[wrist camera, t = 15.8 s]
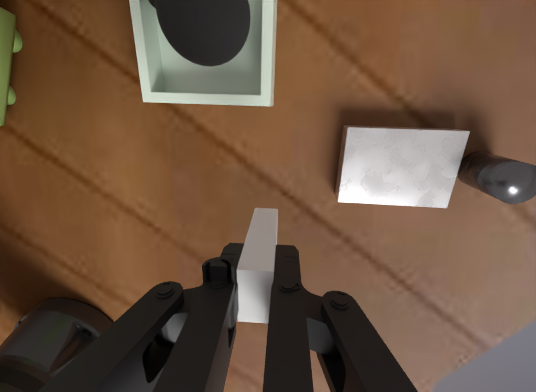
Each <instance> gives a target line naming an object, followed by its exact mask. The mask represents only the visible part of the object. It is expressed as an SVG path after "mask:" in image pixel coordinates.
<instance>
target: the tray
mask: <svg viewBox="0 0 536 392" xmlns="http://www.w3.org/2000/svg"><path fill="white" fill-rule="evenodd" d="M248 1H249V5H250V16H251V20H250V29H249V34H248V37H247V40H246V42H245V44H244V46H243V48H242V49H241V51H240V52H239V53H238V54H237V55H236V56H235V57H234V58H233V59H232V60H230V61H229V62H227V63H224V64H222V65H218V66H212V67H210V66H201V65H198V64H195V63H192V62H190V61H189V60H187V59H185V58H183V57H182V56H181V55H180V54H178V53H177V52H176V51H175V50H174V49H173V47H172V46H171V45H170V44H169V42H168V41H167V39H166V37H165V36H164V34H163V32H162V30H161V27H160V25H159V22H158V18H157V14H156V9H155V8H154V7H153V6H152V5H151V4H150V3H149V1H148V0H129V3H130V10H131V17H132V25H133V32H134V39H135V47H136V54H137V61H138V68H139V76H140V83H141V90H142V98H143V102H158V103H188V104H218V105H247V106H273V105H274V77H275V49H276V21H277V0H248Z"/></svg>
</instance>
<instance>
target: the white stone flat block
mask: <svg viewBox="0 0 536 392" xmlns="http://www.w3.org/2000/svg"><path fill="white" fill-rule="evenodd" d="M469 133H470V131H465V130H459V129H445V128H414V127H383V126H352V125H343V133H342V141H341V149H340V157H339V165H338V173H337V181H336V189H335V196H336V198H337V201H338V202H350V203H367V204H384V205H402V206H419V207H437V208H447V206H448V203H449V199H450V196H451V193H452V189H453V186H454V183H455V179H456V176H457V173H458V170H459V166H460V163H461V160H462V156H463V153H464V150H465V146H466V143H467V140H468V136H469Z"/></svg>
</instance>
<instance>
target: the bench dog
mask: <svg viewBox="0 0 536 392" xmlns="http://www.w3.org/2000/svg"><path fill="white" fill-rule="evenodd" d="M457 175H458V178H459V179H460V181H462V182H463V183H465V184H467V185H469V186H471V187H474V188H476V189H478V190H480V191H482V192H484V193H486V194H488V195H490V196H493V197H495V198H497V199H499V200H501V201H503V202H506V203H509V204H518V203H522V202H525V201H527V200H529V199H531V198H532V197H534V196H535V195H536V166H535V165H532V164H528V163H524V162H520V161H516V160H512V159H509V158H505V157H501V156H497V155H493V154H489V153H486V152H474V153H471V154H469V155H468V156H466V157H465V158H464V159H463V160H462V161H461V163H460V166H459V170H458V173H457Z"/></svg>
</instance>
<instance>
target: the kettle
mask: <svg viewBox="0 0 536 392" xmlns="http://www.w3.org/2000/svg"><path fill="white" fill-rule="evenodd" d="M16 20H17V16H16V15H14V14H12V13H10V12H9V11H7V10H5V9H3V8H1V7H0V126H5V121H6V112H7V105H12V104H14V103H15V101H16V94H15V92H14V90H13V88H12V87H11V86H10V76H11V67H12V57H13V52H19V51H20V50H21V49H22V44H23V43H22V38H21V36H20V34H19V32H18V31H17V30H16Z"/></svg>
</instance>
